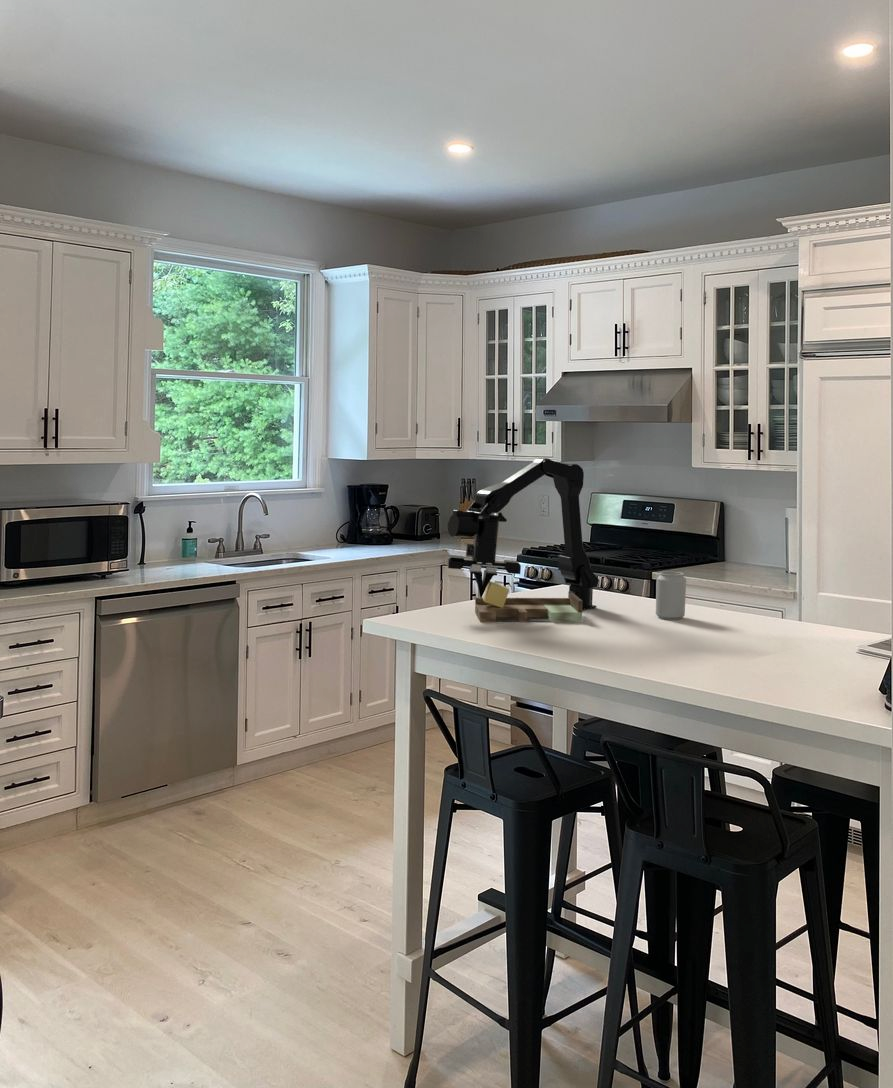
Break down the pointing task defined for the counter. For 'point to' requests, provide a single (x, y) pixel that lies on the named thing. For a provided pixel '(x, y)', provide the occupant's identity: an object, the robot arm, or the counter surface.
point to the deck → (531, 610)
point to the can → (670, 595)
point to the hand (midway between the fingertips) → (480, 597)
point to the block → (495, 594)
